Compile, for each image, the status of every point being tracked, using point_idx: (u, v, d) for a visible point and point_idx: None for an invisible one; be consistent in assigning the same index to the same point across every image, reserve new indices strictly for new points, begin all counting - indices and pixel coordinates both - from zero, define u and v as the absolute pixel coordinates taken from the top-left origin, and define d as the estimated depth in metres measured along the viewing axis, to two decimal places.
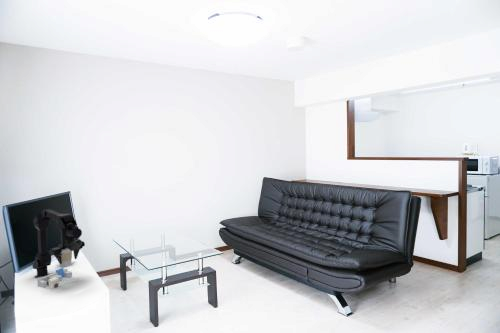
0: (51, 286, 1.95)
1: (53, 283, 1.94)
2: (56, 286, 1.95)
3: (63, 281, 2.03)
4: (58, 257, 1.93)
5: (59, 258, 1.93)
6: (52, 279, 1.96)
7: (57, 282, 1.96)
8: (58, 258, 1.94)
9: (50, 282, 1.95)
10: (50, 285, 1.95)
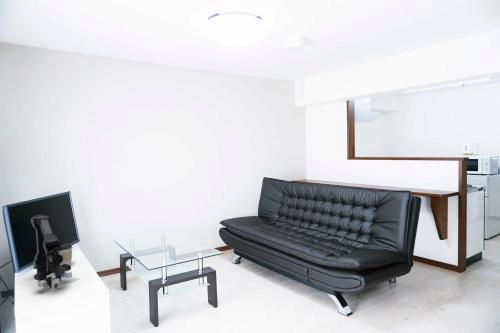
0: (51, 286, 1.95)
1: (53, 283, 1.94)
2: (56, 286, 1.95)
3: (63, 281, 2.03)
4: None
5: (49, 281, 1.93)
6: (52, 279, 1.96)
7: (57, 282, 1.96)
8: (48, 281, 1.94)
9: None
10: None
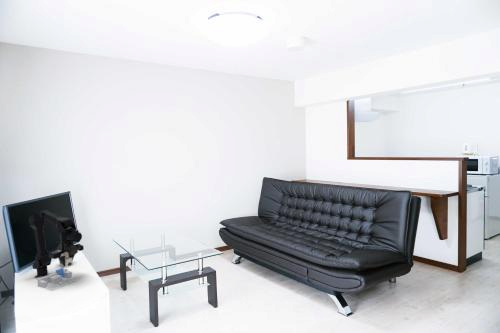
0: (65, 265, 2.02)
1: (67, 262, 2.01)
2: (70, 265, 2.02)
3: (63, 281, 2.03)
4: None
5: (63, 260, 2.00)
6: (66, 258, 2.03)
7: (70, 261, 2.03)
8: (62, 260, 2.00)
9: None
10: None
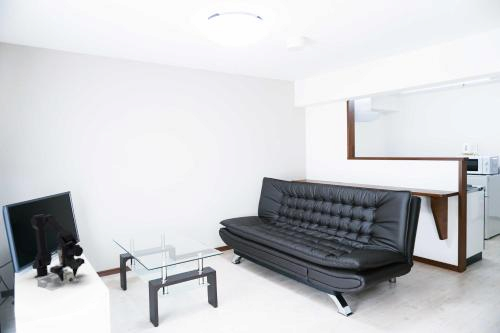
0: (66, 280, 2.03)
1: (68, 277, 2.02)
2: (71, 280, 2.03)
3: (63, 281, 2.03)
4: (60, 274, 2.00)
5: (61, 276, 1.99)
6: (67, 273, 2.04)
7: (72, 276, 2.04)
8: (60, 275, 2.00)
9: (65, 276, 2.03)
10: (65, 279, 2.03)
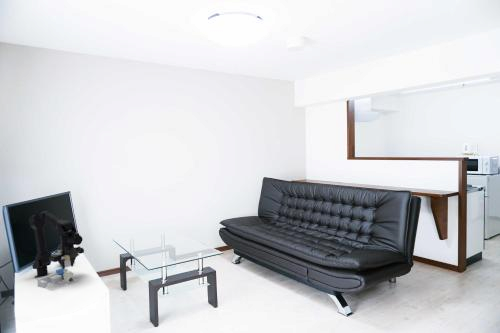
0: (66, 280, 2.03)
1: (68, 277, 2.02)
2: (71, 280, 2.03)
3: (63, 281, 2.03)
4: (61, 262, 2.00)
5: (62, 263, 2.00)
6: (67, 273, 2.04)
7: (72, 276, 2.04)
8: (61, 263, 2.00)
9: (65, 276, 2.03)
10: (65, 279, 2.03)
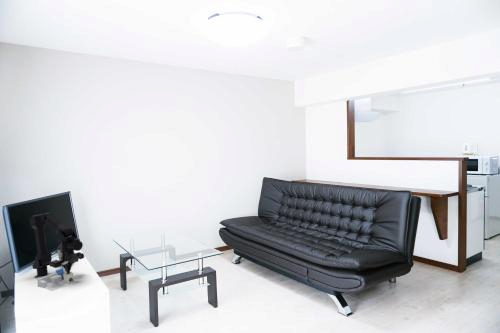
0: (66, 280, 2.03)
1: (68, 277, 2.02)
2: (71, 280, 2.03)
3: (63, 281, 2.03)
4: (65, 267, 2.03)
5: (66, 268, 2.02)
6: None
7: (72, 276, 2.04)
8: (65, 268, 2.03)
9: (65, 276, 2.03)
10: (65, 279, 2.03)
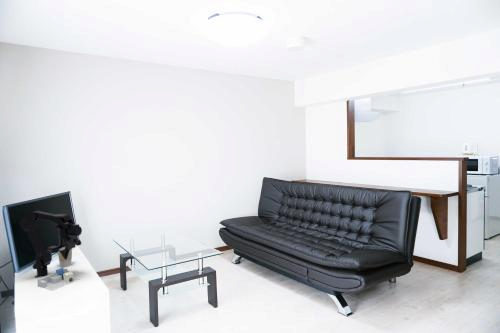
0: (66, 280, 2.03)
1: (68, 277, 2.02)
2: (71, 280, 2.03)
3: (63, 281, 2.03)
4: None
5: (64, 253, 2.08)
6: (67, 273, 2.04)
7: (72, 276, 2.04)
8: (63, 253, 2.09)
9: (65, 276, 2.03)
10: (65, 279, 2.03)
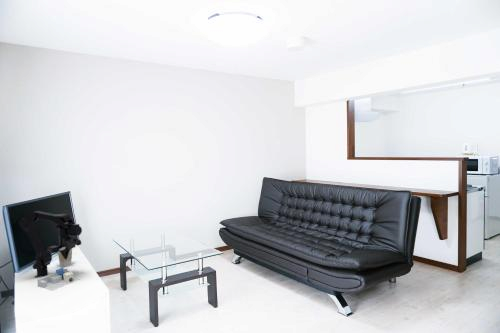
0: (66, 280, 2.03)
1: (68, 277, 2.02)
2: (71, 280, 2.03)
3: (63, 281, 2.03)
4: None
5: (64, 253, 2.08)
6: (67, 273, 2.04)
7: (72, 276, 2.04)
8: (63, 253, 2.09)
9: (65, 276, 2.03)
10: (65, 279, 2.03)
